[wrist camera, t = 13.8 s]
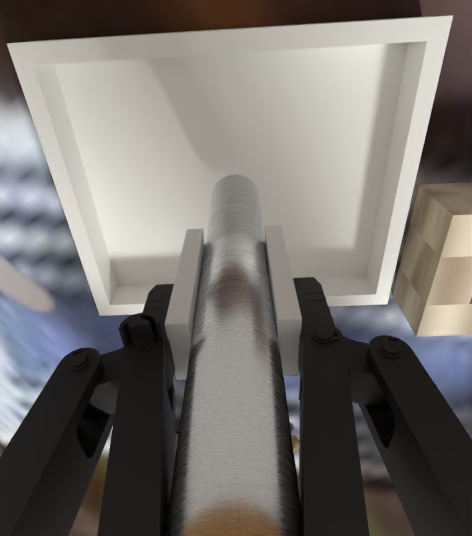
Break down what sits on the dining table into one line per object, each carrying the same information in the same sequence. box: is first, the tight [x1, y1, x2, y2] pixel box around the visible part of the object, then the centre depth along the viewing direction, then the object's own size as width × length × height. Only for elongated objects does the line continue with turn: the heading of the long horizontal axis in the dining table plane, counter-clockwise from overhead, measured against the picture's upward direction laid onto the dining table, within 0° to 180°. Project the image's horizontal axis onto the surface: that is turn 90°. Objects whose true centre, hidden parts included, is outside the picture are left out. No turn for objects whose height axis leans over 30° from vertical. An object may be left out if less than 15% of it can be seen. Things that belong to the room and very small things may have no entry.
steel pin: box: [165, 175, 302, 536], centre depth 15 cm, size 4×4×20 cm
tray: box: [7, 16, 453, 316], centre depth 25 cm, size 22×18×4 cm
